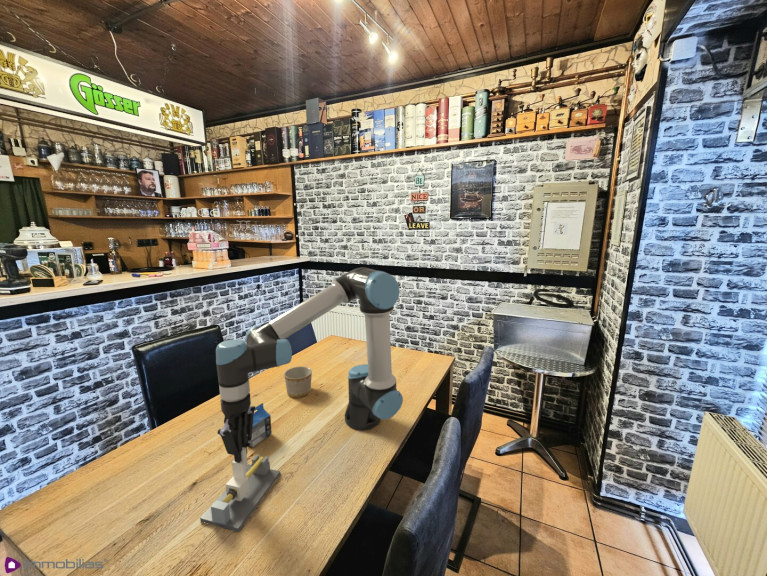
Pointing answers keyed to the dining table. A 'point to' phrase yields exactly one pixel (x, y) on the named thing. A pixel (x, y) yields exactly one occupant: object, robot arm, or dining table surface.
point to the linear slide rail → (238, 512)
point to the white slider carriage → (238, 480)
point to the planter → (298, 381)
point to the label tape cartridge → (260, 426)
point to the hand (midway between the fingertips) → (242, 468)
